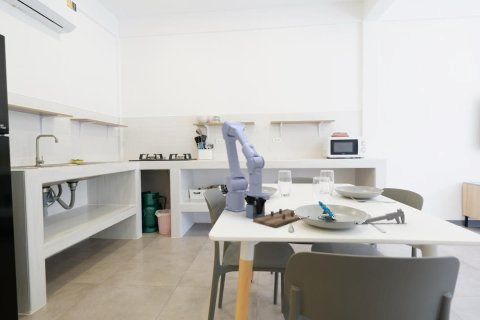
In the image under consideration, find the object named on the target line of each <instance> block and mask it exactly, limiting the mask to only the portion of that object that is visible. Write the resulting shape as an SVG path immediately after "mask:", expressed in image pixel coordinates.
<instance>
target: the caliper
mask: <svg viewBox="0 0 480 320" xmlns="http://www.w3.org/2000/svg"><path fill="white" fill-rule="evenodd" d="M366 219H367V220H366V221H365V222H363V223H362V224H361V225H364V224H370V223H374V222H380V221H384V220H386V221H388V222H389V221H394V220H395V221H396V223H397V224H399V225H400V224H401V223H402V224H405V222H406V221H405V219H406V218H405V213H404V211H403V210H402V208H399V209H396V211H394V212H393V211H392V212H388V213H385V214H384V215H380V216H379V215H378V216H375V217H369V218H366Z"/></svg>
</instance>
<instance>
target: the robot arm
mask: <svg viewBox="0 0 480 320" xmlns="http://www.w3.org/2000/svg"><path fill="white" fill-rule="evenodd" d="M221 134H222V139H223V140H224V144H225V148H226V154H227V155H226V157H227V159H228V160H227V161H228V167H229V174H228V175H227V176H226V184H225V186H226V189H227V190H228V191H227V192H226V195H225V207H224V209H225V210H228V211H232V212H235V213H240V212H243V211H246V204H249V203H254V202H256V206H257V215H260V214H262V210H263V206H264V204H265V205H266V202H267V200H270V194H266V193H264V192H263V172H262V171H263V170H262V169H264V167H265V159H264V157H263V156H262V155H260V154H259V153H257V150H256V148H255V146H254V145H253V144H252V143H249V140H248V137H247V136H246V133H245V125H244V123H243V122H242V121H239V122H238V121H237V122H236V121H227V120H226V121H224V122H223V123H222V127H221ZM236 141H238V142H239V144H240V145H241V152H242V154H243V156H244V157H245V160H246V164H245V166H246V168H247V173H248V179H247V176H246V174H245V173H244V172H242V171H241V166H240V161H239V155H238V154H239V153H238V149H237V143H236ZM248 188H249V189H248ZM247 190H248V191H247ZM245 196H246V197H245ZM245 202H246V203H245Z"/></svg>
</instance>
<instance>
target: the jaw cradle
mask: <svg viewBox="0 0 480 320" xmlns="http://www.w3.org/2000/svg"><path fill="white" fill-rule="evenodd" d="M278 210H279V211H276V212H274V211H273V210H272V211H270V213H269V214H265V216H262V217H258V218H255V219H252V222H253V223H256V224H260V225H263V226H266V227H267V226H268V227H271V228H274V229H277V228H281V227H283V226H286V225H289V224H291V223H294V222H296V221H299V220H301V219H300V218H299V217H298V216H297V215H295V213H294V211H295V210H293V209H288V208H287V209H282V208H279V209H278Z"/></svg>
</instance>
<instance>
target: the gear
mask: <svg viewBox="0 0 480 320" xmlns="http://www.w3.org/2000/svg"><path fill="white" fill-rule="evenodd" d="M317 203H318V205H319V206H320V208H321V209H323V211H322V213H321V214H326V215H327V214H328V216H329V217H330V218H332V216H333V215H334V213H333V212H332V211H331V209H330V208H329V207H328V206H326V204H324V203H323V202H322V201H318V202H317ZM332 213H333V214H332ZM334 216H335V215H334ZM334 216H333V217H334Z"/></svg>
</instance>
